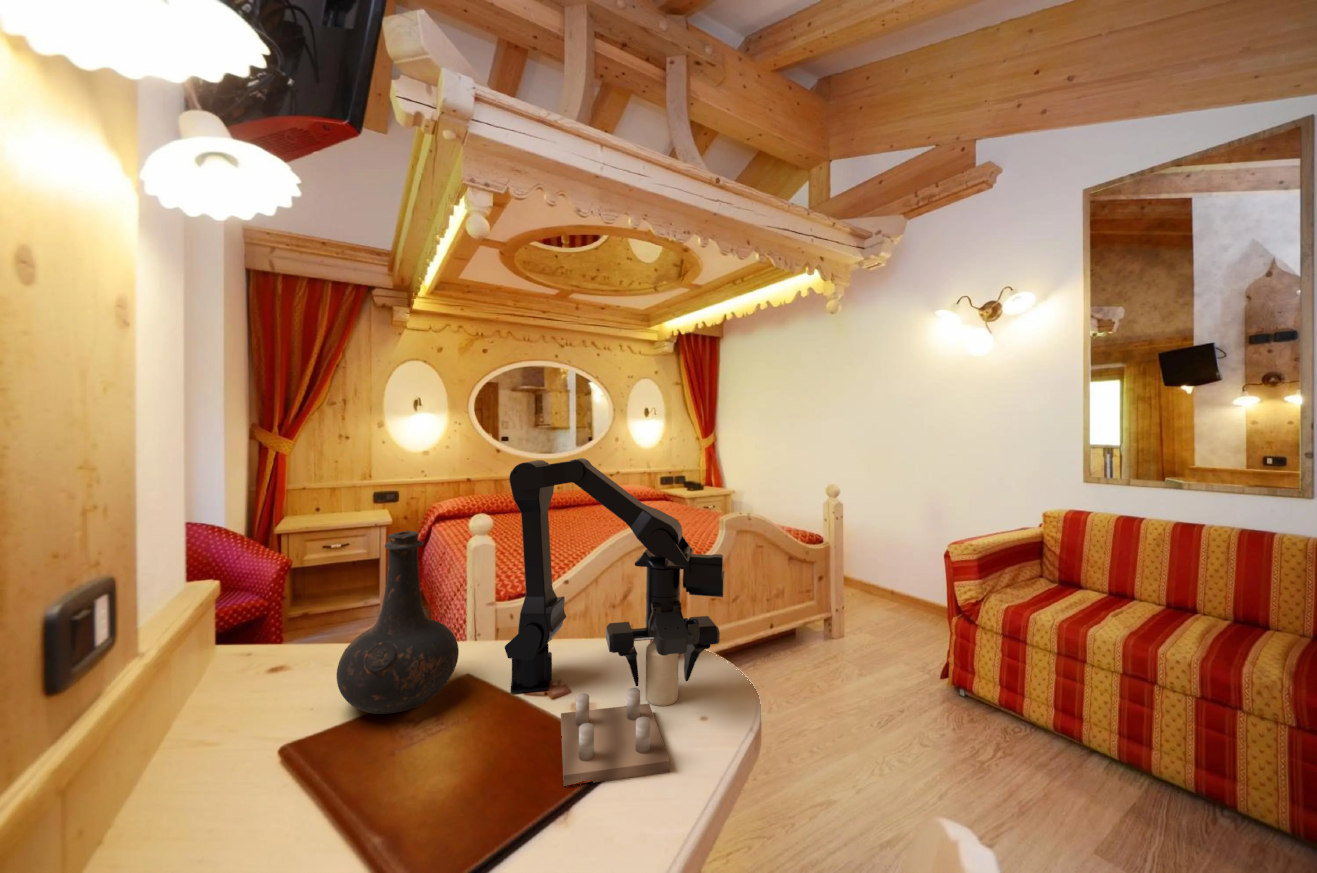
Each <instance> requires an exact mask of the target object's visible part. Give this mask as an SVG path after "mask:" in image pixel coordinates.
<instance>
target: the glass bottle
mask: <svg viewBox="0 0 1317 873" xmlns="http://www.w3.org/2000/svg"><path fill="white" fill-rule="evenodd" d="M422 546H424V541H422V540H419V532H417V531H413V530H403V531H399V532H395V533H394V532H393V533H390V534H388V542H386V543H385V544H384V548H385V549H387V550H388V557H387V558H388V560H387V575H386V581H385V589H384V590H385V591H384V595H383V602H382V605H381V608H380V609H381V610H380V613H379V615H378V618H377V621H376V623H375V624H374V625H373V626H372V627H370V628H369V629H367V630H365V631H364V632H362V633H360V634H359V635H358V636H356V637H355V638H354V639H353V640H352V641H351V642H350V643H349V644H348V645H347V646H346V648H345V649H344V651H343V653H342V655H341V656H340V659H339V662H338V664H337V668H336V683H337V687H338V690H339V692H340V694H341V696H342V697H343V699H344V700H345V701H346V702H347V703H348V704H349V705H351V706H352V707H353V708H355V709H356V710H360V711H362V712H365V713H368V714H374V715H375V714H376V715H385V714H398V713H401V712H406V711H410V710H412V709H413V710H414V709H415V708H417V707H419V706H422V705H424V704H426V703H427V702H428V701H430V700H431V699H433V698H434V697H436V696H437V694H439V692H441V690H443V688H444V687H445V686H446V684H447V683H448V681H449V680H450V678H451V677H452V676H453V673H454V671H455V669H456V667H457V664H458V660H459V653H460V651H459V644H458V640H457V638H456V636H455V635H454V633H453V632H452V630H451V629H450V628H449V627H447V625H445V624H443V623H442V622H439V621H437V620H435V619H431V618H428V617H427V616H426V614H425V611H424V608H423V604H422V595H421V587H420V586H421V585H420V572H419V568H420V567H419V548H420V547H422Z"/></svg>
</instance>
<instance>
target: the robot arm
mask: <svg viewBox="0 0 1317 873" xmlns="http://www.w3.org/2000/svg"><path fill="white" fill-rule="evenodd" d="M508 478H509V485H510V489H511V493H512V498H513V501H514V503H515V505H516V506H517V508H518V510H519V512H520V516H521V530H522V546H523V548H522V552H523V566H524V567H523V568H524V583H525V584H524V585H525V586H524V587H525V596H524V598H523V599H524V600H523V603H522V607H521V609H520V614H519V620H518V631H517V632H518V633H517V634H516V635H515V636H514V637H513V638H511V639H510V641H509V642H508V643H507V644H505V645H504V650H505V654H506V657H507V659H510V660H511V683H510V689H509V690H510V691H509V692H510V694H519V693H529V692H530V693H531V692H538V691H539V692H540V691H548V690H549V689H550V682H551V681H552V680H553V679H552V678H553V677H552V676H553V675H552V674H553V673H552V672H553V670H552V669H553V654H552V652H551V651H550V650H549V649H550V648H549V642H551V641H552V640H553V637H554V636H555V635H556V634H557V633H558V631H560V629H561V628H562V626H563V624H564V620H566V618H567V615H566V611H565V603H566V602H565V601H566V600H565V596H559V597H558V596H557V595H556V592H555V590H554V587H553V576H552V575H553V572H552V555H551V539H550V535H551V534H550V522H549V520H550V519H549V508H550V505H551V502H552V498H553V495H554V491H555V490H554V489H555V486H559V485H564V484H571V483H573V484H575V485H576V486H578V488H580V489H581V490H582V491H583V492H585V493H586V494H588V496H590V497H591V498H593V499H594V500H596V501H597V503H599V504H601V505H602V506H603V507H605V508H606V510H608V511H609V512H611V513H612V514H614V515H615V516H616V517H618V519H620V520H621V521H623V522H624V523H625V524H626V525H627V526H628V528H630V530H631V532H632V533H633V535H634V536H635V538H636V539H637V540H638V541H639V542H640V543H641V545H643V547H644V548H645V550H644V551H643V553H642V554H641V555H640V556H639V557H638V558H637V559H636V560H635V562H634V566H635V567H639V568H640V567H642V568H643V567H644V568H646V574H645V575H646V586H645V587H646V588H645V589H646V593H645V620H644V621H645V627H639V628H632V625H631V624H630V621H619V622H609V623H608V624H607V625H606V627H605V640H606V644H607V647H608V651H609V653H613V654H616V653H617V654H618V656H620V657H625V659H626V660H627V662H628V665H629V669H630V671H631V675H632V678H633V681H634V685H635V688H637V687H639V682H640V680H639V679H640V678H639V671H638V670H639V668H638V652H637V649H636V645H635V642H641V641H650V640H655V644H656V649H657V652H658V654H660V655H662V656H665V655H668V654H677V653H678V654H679V655H684V656H683V657H684V658H683V676H684V681H685V682H689V680H690V678H691V676H692V672H693V669H694V667H695V665H696V661H697V660H698V658H699V656H700V655H701V653H702V652H703V651H704V650H707V649H708V650H709V649H710V648H711V645H718V644H720V629H719V627H718V626H717V624H716V623H715V622H714V621H713V619H711V618H710V616H709V615H705V616H704V615H702V616H700V615H699V616H691V617H689V618H688V617H684V616H683V612H682V603H681V570H683V571H682V588H683V589H685V592H686V593H689V596H698V597H699V596H701V597H714V598H724V592H725V591H724V590H725V570H724V555H723V554H719V553H717V554H716V553H714V554H698V553H696V554H695V553H694V550H693V548H692V547H691V546H690V544H689V542H688V541H687V540H686V538H685V536H684V535H683V528H682V527H683V526H682V524H681V523H680V522H679V521H678V519H677V518H675V517H673V516H672V515H669V514H667V513H666V512H664V511H662V510H660V509H657V508H655V507H652V506H649V505H647V504H645V503H643V502H642V501H640V499H638V498H636V497H634V495H632V494H631V493H629V492H628V491H627V490H626V489H624V488H623V487H621V486H620V485H619V484H618V483H616V482H615V481H614V480H613V479H611V478H610V477H608V476H607V475H605V473H603V472H601V471H600V469H599V468H597V467H595V466H594V465H593V464H592V463H591V462H590V461H589V460H588V459H587V458H583V457H579V458H575V459H571V460H568V461H562V462H555V463H549V462H547V461H546V460H544V459H543V460H541V459H537V460H536V459H535V460H532V461H531V460H530V461H525V462H520V463H518V464H517V465H515V466H514V467H513V468H512V470H511V471H510V474H509V477H508Z"/></svg>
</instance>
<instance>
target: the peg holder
mask: <svg viewBox="0 0 1317 873" xmlns="http://www.w3.org/2000/svg"><path fill="white" fill-rule="evenodd" d="M626 695H627V696H626V705H624V706H614V707H605V708H597V709H590V695H589V693H587V692H580V693H578V694H576V696H575V711H569V712H567V711H566V712H560V732H561V733H560V735H561V736H562V738H561V755H562V757H561V758H562V776H563V781H564V782H563V787H564V786H566V787H568V786H567V785H571V784H576V783H579V782H582V781H587V780H592V781H593V783H601V782H605V781H606V782H607V781H615V780H621V779H627V778H634V777H643V776H649V775H657V774H664V773H665V774H666V773H670V771H671V770H670V766H671V762H670V758H669V755H668V752H667V750H666V747H665V746H666V745H665V744H664V741H663V738H662V735H661V732H660V730H659V727H658V724H657V721H656V719H655V716H654V714H653V710H652V708H651V703H641V690H640V689H639V688H637V687H631V688H628V689H627V690H626ZM561 736H560V737H561ZM593 783H592V784H593Z"/></svg>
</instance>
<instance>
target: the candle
mask: <svg viewBox="0 0 1317 873" xmlns="http://www.w3.org/2000/svg"><path fill="white" fill-rule="evenodd" d="M678 694H679V658H678V653H677V654H668V655H665V656H662V655H660V654H658V652H657V649H656V644H655V640H652V641H651V642H650V641H649V643H648V644H647V645H646V647H645V699H646V702H648V704H650V705H651V704H652V705H653V706H656V707H667V706H670V705H673V704H674V703H676V702H677V700H678V696H679V695H678Z"/></svg>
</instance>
